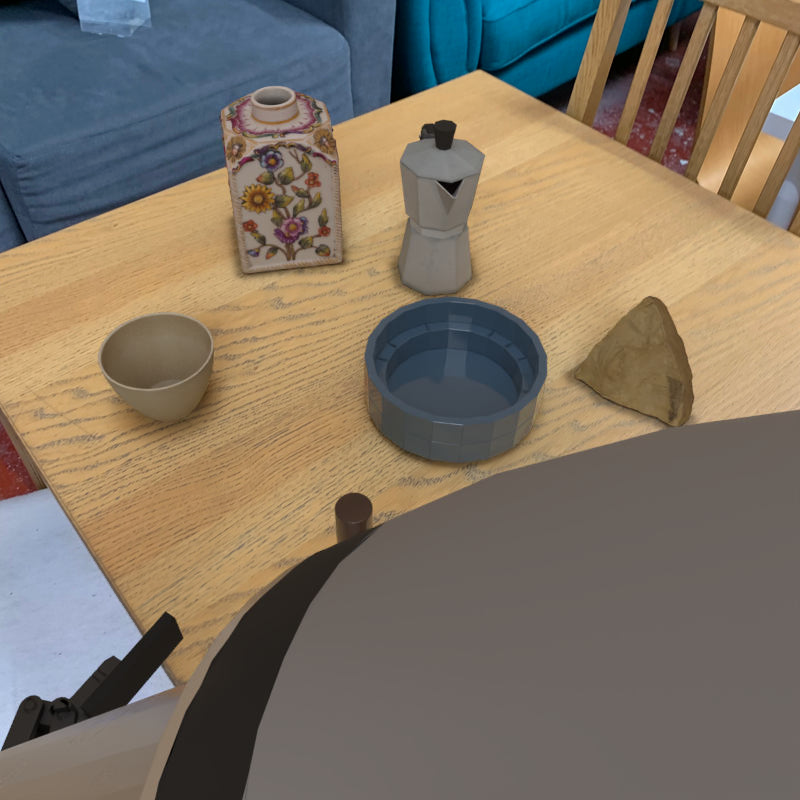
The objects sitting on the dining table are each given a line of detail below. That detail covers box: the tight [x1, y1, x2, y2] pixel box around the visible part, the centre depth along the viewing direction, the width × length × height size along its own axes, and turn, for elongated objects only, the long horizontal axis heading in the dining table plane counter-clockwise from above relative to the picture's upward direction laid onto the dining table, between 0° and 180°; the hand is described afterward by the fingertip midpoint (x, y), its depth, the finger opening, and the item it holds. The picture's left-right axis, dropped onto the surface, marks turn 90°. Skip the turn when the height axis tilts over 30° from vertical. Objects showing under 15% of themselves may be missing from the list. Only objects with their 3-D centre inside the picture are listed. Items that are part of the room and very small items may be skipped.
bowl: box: [363, 296, 548, 464], centre depth 72 cm, size 17×17×6 cm
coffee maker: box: [397, 119, 486, 297], centre depth 82 cm, size 15×9×18 cm, turn 9°
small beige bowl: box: [97, 311, 215, 423], centre depth 70 cm, size 10×10×7 cm
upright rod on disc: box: [334, 492, 374, 544], centre depth 51 cm, size 6×6×18 cm
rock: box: [574, 295, 695, 427], centre depth 72 cm, size 11×9×10 cm
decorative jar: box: [218, 85, 344, 274], centre depth 84 cm, size 12×12×18 cm
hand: (266, 684), depth 43 cm, fingers open, 13 cm apart
